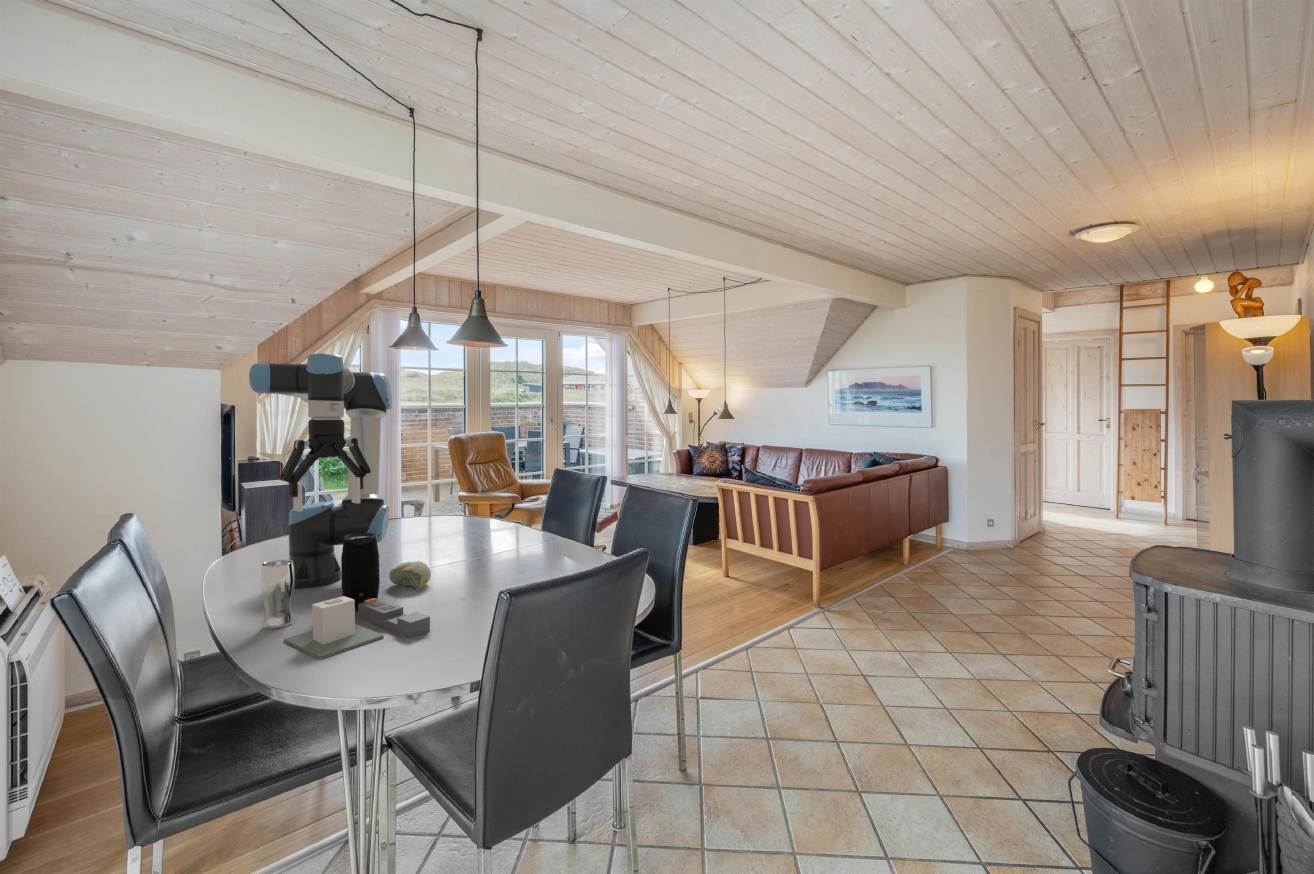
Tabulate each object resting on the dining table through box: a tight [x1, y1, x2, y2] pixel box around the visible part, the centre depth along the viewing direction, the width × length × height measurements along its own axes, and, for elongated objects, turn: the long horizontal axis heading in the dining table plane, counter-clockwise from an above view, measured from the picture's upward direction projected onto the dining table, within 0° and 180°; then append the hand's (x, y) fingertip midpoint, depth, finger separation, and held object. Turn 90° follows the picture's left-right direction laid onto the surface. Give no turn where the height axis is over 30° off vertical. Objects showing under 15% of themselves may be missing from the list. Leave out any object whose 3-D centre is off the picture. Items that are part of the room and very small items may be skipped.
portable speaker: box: [340, 532, 380, 609], centre depth 152 cm, size 8×9×19 cm
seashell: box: [388, 560, 432, 592], centre depth 171 cm, size 13×8×10 cm
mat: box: [283, 623, 385, 660], centre depth 131 cm, size 16×14×1 cm
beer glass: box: [259, 558, 295, 630], centre depth 139 cm, size 7×7×15 cm
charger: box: [311, 595, 356, 644], centre depth 131 cm, size 4×7×8 cm, turn 146°
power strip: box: [357, 598, 431, 638], centre depth 140 cm, size 22×5×4 cm, turn 56°
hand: (328, 506), depth 140 cm, fingers open, 13 cm apart
